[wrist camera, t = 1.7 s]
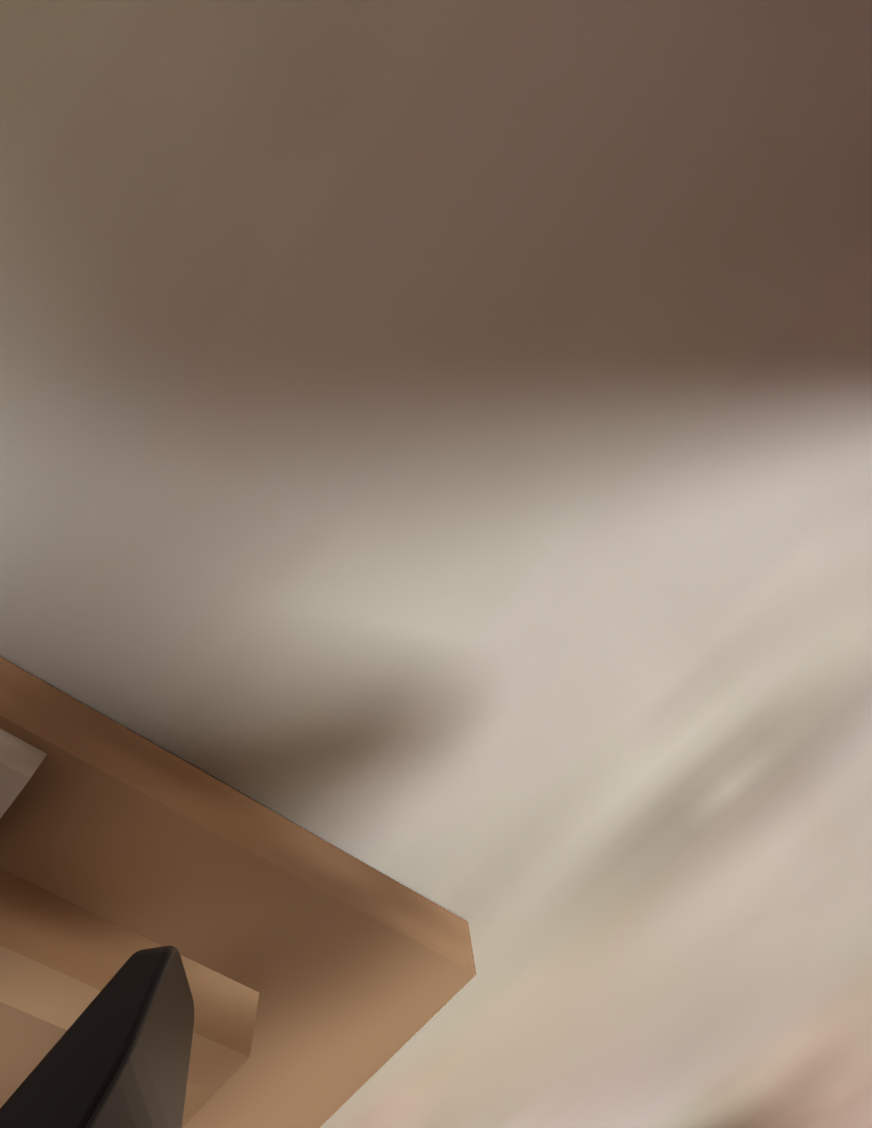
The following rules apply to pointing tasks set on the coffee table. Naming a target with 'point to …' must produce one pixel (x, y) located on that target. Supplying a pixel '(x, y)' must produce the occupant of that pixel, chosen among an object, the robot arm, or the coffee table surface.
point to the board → (200, 919)
